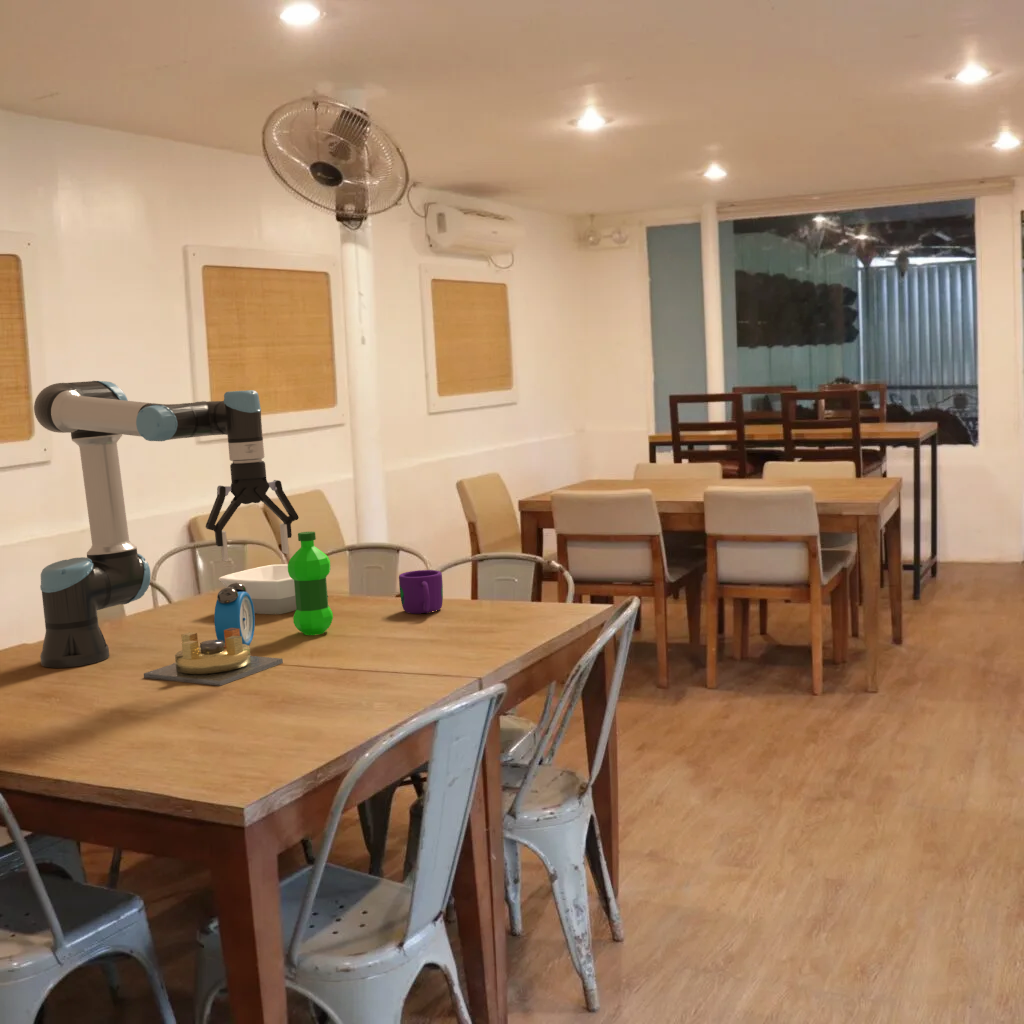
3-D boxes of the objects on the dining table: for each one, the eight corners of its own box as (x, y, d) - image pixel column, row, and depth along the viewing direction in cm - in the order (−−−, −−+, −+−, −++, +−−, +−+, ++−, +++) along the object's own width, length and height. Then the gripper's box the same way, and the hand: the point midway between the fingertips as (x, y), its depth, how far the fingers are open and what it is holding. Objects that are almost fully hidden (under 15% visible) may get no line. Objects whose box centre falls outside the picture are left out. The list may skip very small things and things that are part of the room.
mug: (398, 608, 327) (396, 572, 325) (441, 604, 329) (438, 568, 328) (406, 621, 310) (403, 582, 308) (450, 617, 312) (448, 578, 311)
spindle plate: (144, 677, 265) (143, 672, 265) (208, 656, 283) (208, 651, 283) (220, 685, 255) (219, 680, 254) (282, 662, 272) (282, 657, 272)
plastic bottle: (340, 633, 299) (332, 532, 296) (297, 639, 295) (289, 537, 292) (330, 626, 308) (323, 528, 306) (289, 632, 305) (281, 532, 302)
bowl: (341, 602, 341) (338, 566, 340) (279, 620, 320) (276, 582, 319) (276, 597, 354) (273, 563, 353) (213, 615, 333) (209, 578, 332)
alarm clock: (241, 653, 284) (236, 589, 282) (215, 654, 285) (210, 590, 283) (257, 640, 297) (252, 579, 295) (232, 641, 298) (227, 580, 296)
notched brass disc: (160, 670, 266) (157, 641, 265) (212, 653, 279) (209, 625, 279) (215, 676, 258) (212, 646, 257) (266, 658, 271) (263, 629, 271)
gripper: (194, 467, 259) (203, 566, 261) (307, 456, 270) (315, 551, 273) (186, 465, 265) (195, 562, 268) (296, 455, 277) (304, 548, 279)
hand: (255, 557), depth 270 cm, fingers open, 13 cm apart
